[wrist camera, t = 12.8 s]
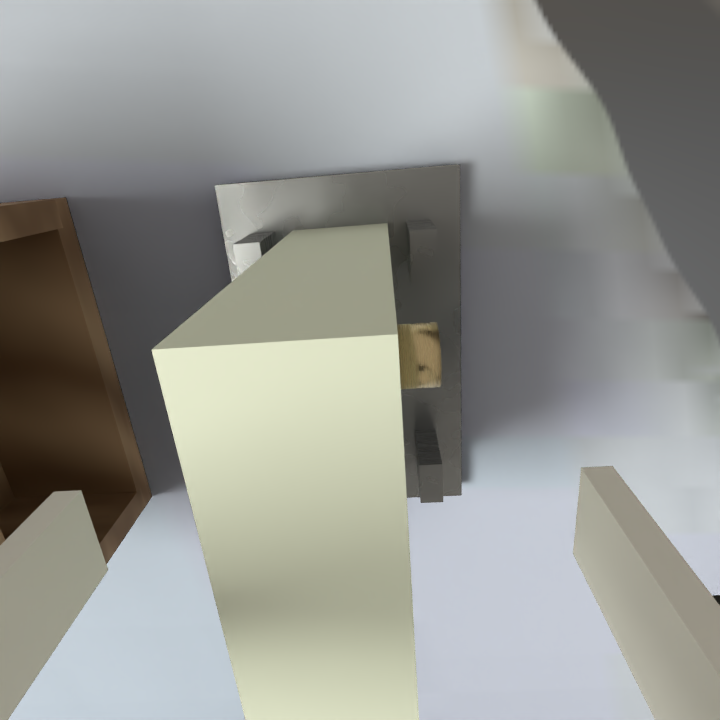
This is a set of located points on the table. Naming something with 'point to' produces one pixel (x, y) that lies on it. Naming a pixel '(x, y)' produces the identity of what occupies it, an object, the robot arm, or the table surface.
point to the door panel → (305, 473)
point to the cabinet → (59, 381)
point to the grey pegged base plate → (409, 271)
